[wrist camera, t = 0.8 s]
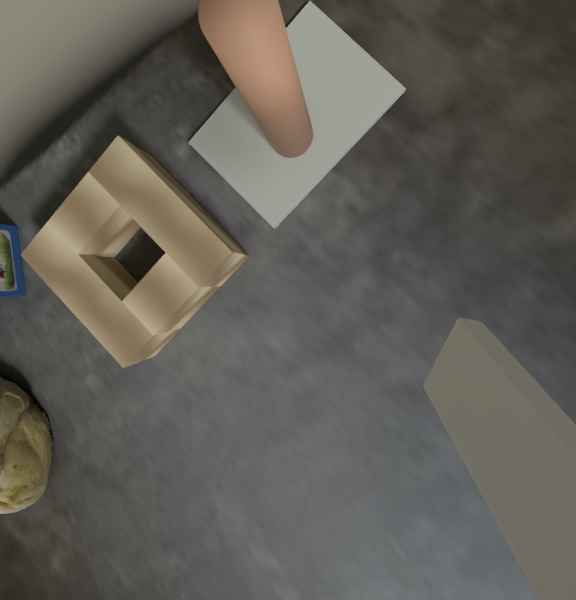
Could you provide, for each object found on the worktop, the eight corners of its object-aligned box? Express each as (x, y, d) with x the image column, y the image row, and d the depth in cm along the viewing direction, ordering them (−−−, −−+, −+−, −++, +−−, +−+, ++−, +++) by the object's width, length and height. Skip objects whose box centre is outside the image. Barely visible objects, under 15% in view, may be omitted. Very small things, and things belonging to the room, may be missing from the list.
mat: (310, 4, 29) (310, 0, 29) (405, 91, 28) (405, 88, 28) (190, 144, 31) (188, 142, 31) (274, 228, 31) (273, 228, 30)
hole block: (150, 155, 32) (118, 135, 28) (249, 255, 31) (232, 251, 27) (63, 258, 34) (20, 254, 29) (154, 356, 33) (123, 368, 28)
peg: (291, 103, 29) (236, -52, 16) (322, 133, 29) (294, 1, 15) (261, 137, 30) (182, 15, 16) (291, 167, 30) (237, 68, 16)
